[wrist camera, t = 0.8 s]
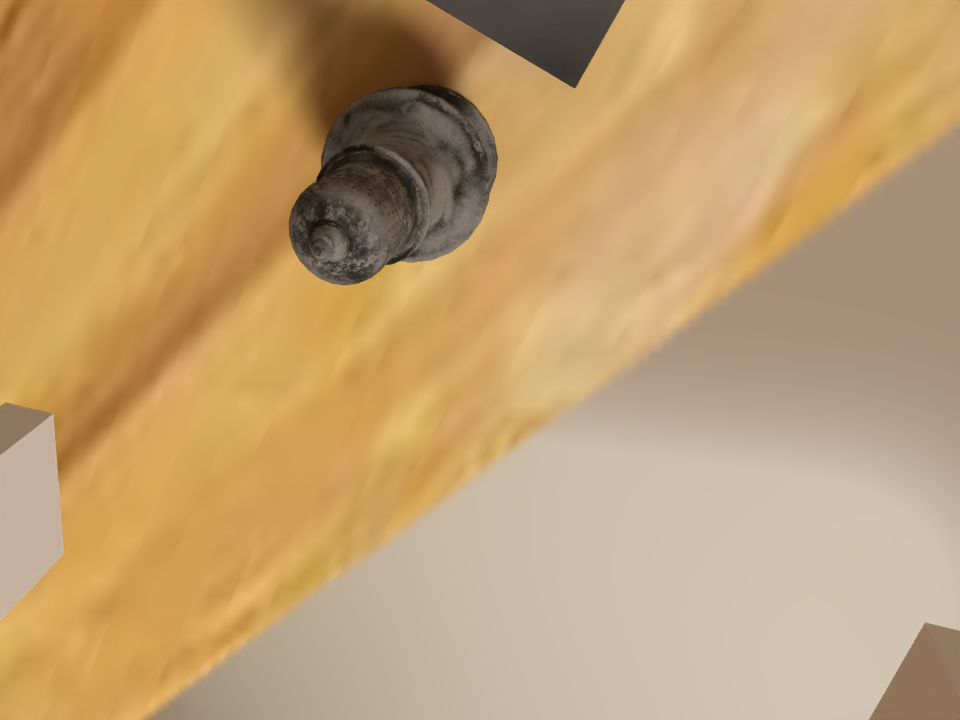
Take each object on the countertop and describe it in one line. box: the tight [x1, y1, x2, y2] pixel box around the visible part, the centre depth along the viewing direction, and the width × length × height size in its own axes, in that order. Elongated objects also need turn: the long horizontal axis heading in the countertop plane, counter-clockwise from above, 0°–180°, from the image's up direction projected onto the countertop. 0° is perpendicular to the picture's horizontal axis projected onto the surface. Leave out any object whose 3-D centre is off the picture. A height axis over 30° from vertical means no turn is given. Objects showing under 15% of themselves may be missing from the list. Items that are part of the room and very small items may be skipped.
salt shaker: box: [289, 85, 498, 285], centre depth 25 cm, size 6×6×12 cm
